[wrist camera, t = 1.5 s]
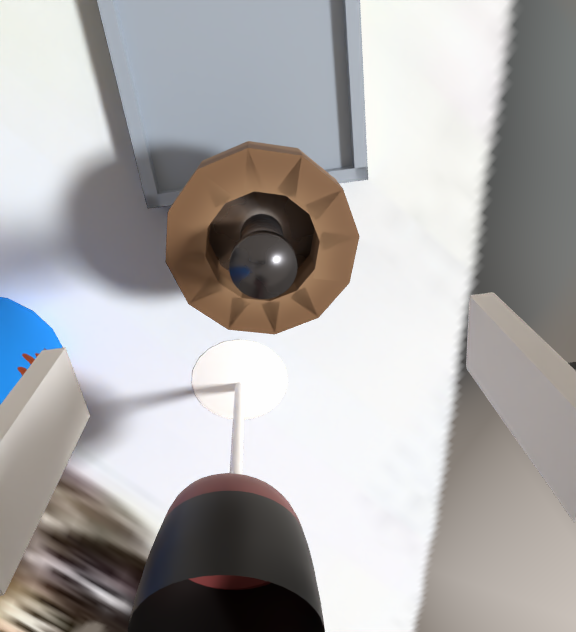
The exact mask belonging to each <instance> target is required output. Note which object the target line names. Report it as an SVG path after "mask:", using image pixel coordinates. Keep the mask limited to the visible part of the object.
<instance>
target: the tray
mask: <svg viewBox="0 0 576 632" xmlns="http://www.w3.org/2000/svg"><path fill="white" fill-rule="evenodd" d="M97 3H98V7H99V11H100V15H101V19H102V24H103V28H104V32H105V36H106V40H107V44H108V48H109V52H110V56H111V60H112V64H113V69H114V73H115V77H116V81H117V85H118V89H119V93H120V97H121V101H122V105H123V110H124V114H125V118H126V122H127V126H128V130H129V134H130V138H131V142H132V146H133V150H134V155H135V159H136V163H137V167H138V171H139V175H140V179H141V183H142V187H143V191H144V196H145V200H146V204H147V208H156V207H163V206H171V205H172V204H173V203H174V201H175V199H176V198H177V196H178V195H179V194H180V192H181V191H182V189H183V188H184V186H185V185H186V183H187V182H188V181H189V179H190V178H191V176H192V175H193V173H194V172H195V170H196V169H197V168H198V166H199V165H200V163H201V162H202V161H203V160H205V159H207V158H210V157H212V156H214V155H217V154H219V153H221V152H224V151H226V150H228V149H231V148H233V147H235V146H238V145H240V144H242V143H245V142H247V141H252V142H259V143H266V144H273V145H280V146H287V147H294V148H299V149H300V150H301V151H302V152H303V153H305V154H306V155H307V156H308V157H309V158H311V159H312V160H313V161H314V162H316V163H317V164H318V165H319V166H320V167H322V168H323V169H324V170H325V171H326V172H328V173H329V174H330V175H331V176H333V177H334V178H335V179H336V180H337V182H338V183H345V182H353V181H361V180H368V167H367V145H366V123H365V101H364V79H363V57H362V36H361V14H360V0H97Z"/></svg>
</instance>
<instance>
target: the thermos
mask: <svg viewBox="0 0 576 632" xmlns="http://www.w3.org/2000/svg"><path fill="white" fill-rule="evenodd" d="M58 348H63V347H62V345H61V343H60V342H59V340H58V338H57V336H56V334H55V333H54V331H53V329H52V328H51V327H50V326H49V325H48V324H47V323H45V322H44V321H43V320H42V319H41V318H40V317H39V316H38V315H37V314H36V313H35V312H34V311H32V310H30V309H28V308H26V307H24V306H22V305H20V304H18V303H16V302H14V301H12V300H10V299H8V298H3V297H0V405H1V403H2V402H3V401H4V399H5V398H6V397H7V396H8V394H9V393H10V392H11V390H12V389H13V388H14V386H15V385H16V384H17V382H18V381H19V380H20V379H21V377H22V376H23V375H24V373H25V372H26V371H27V369H28V368H29V367H30V365H31V364H32V363H33V362H34V360H35V359H36V358H37V356H38V355H39V354H40V352H41V351H42V350H50V349H58Z"/></svg>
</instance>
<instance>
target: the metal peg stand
mask: <svg viewBox="0 0 576 632" xmlns="http://www.w3.org/2000/svg"><path fill="white" fill-rule="evenodd" d="M314 229H315V228H314V225H313V222H312V220H311V217H310V215H309V214H308V213H307V212H306V211H305V210H303V209H302V208H301V207H299V206H298V205H297V204H296V203H294V202H293V201H292V200H290V199H289V198H288V197H287V196H285V195H278V194H270V193H263V192H255V191H254V192H251V193H249V194H247V195H244V196H242V197H239V198H237V199H235V200H232V201H230V202H227V203H225V204H224V206H223V207H222V208H221V210H220V211H219V213H218V214H217V215H216V217H215V218H214V219H213V221H212V222H211V223H210V235H209V243H210V245H211V247H212V249H213V251H214V253H215V255H216V257H217V259H218V261H219V263H220V265H221V266H222V267H223V268H225V269H226V270H228V271H229V272H230V276H231V279H232V281H233V283H234V285H235V286H236V287H237V288H238V289H239V290H240V291H241V292H242V293H244V294H245V295H247V296H249V297H252V298H256V299H271V298H274V297H277V296H279V295H281V294H283V293H284V292H286V291H287V290H288V289H289V288H290V287H291V285H292V284H293V282H294V280H295V278H296V274H297V269H298V268H299V267H300V265H301V264H302V263H303V262H304V261H305V259H306V258H307V257H308V256H309V255H310V252H311V246H312V240H313V234H314Z"/></svg>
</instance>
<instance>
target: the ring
mask: <svg viewBox="0 0 576 632" xmlns="http://www.w3.org/2000/svg"><path fill="white" fill-rule="evenodd" d="M254 191H255V192H263V193H270V194H278V195H285V196H287V197H288V198H289V199H290V200H292V201H293V202H294V203H296V204H297V205H298V206H299V207H301V208H302V209H303V210H305V211H306V212H307V213H308V214H309V215H310V217H311V220H312V222H313V225H314V228H315V229H314V234H313V240H312V246H311V252H310V255H309V256H308V257H307V258H306V259H305V261H304V262H303V263H302V264H301V265H300V267H299V268H298V269H297V274H296V278H295V280H294V282H293V284H292V285H291V287H290V288H289V289H288V290H287V291H286V292H284V293H283V294H281V295H279V296H277V297H274V298H271V299H256V298H252V297H249V296H247V295H245V294H244V293H242V292H241V291H240V290H239V289H238V288H237V287H236V286H235V285H234V283H233V281H232V279H231V276H230V272H229V271H228V270H226V269H225V268H223V267H222V266H221V265H220V263H219V261H218V259H217V257H216V255H215V253H214V251H213V249H212V247H211V245H210V243H209V235H210V223H211V222H212V221H213V219H214V218H215V217H216V215H217V214H218V213H219V211H220V210H221V208H222V207H223V206H224V204H225V203H227V202H230V201H232V200H235V199H237V198H239V197H242V196H244V195H247V194H249V193H251V192H254ZM358 240H359V234H358V231H357V228H356V225H355V222H354V219H353V216H352V214H351V211H350V208H349V205H348V202H347V199H346V196H345V193H344V190H343V188H342V187H341V186H340V184H339V183H338V182H337V180H336V179H335V178H334V177H333V176H331V175H330V174H329V173H328V172H326V171H325V170H324V169H323V168H322V167H320V166H319V165H318V164H317V163H316V162H314V161H313V160H312V159H311V158H309V157H308V156H307V155H306V154H305V153H303V152H302V151H301V150H300V149H299V148H294V147H287V146H280V145H273V144H266V143H259V142H252V141H247V142H245V143H242V144H240V145H238V146H235V147H233V148H231V149H228V150H226V151H224V152H221V153H219V154H217V155H214V156H212V157H210V158H207V159H205V160H203V161H202V162H201V163H200V165H199V166H198V168H197V169H196V170H195V172H194V173H193V175H192V176H191V178H190V179H189V181H188V182H187V183H186V185H185V186H184V188H183V189H182V191H181V192H180V194H179V195H178V196H177V198H176V199H175V201H174V203H173V204H172V206H171V208H170V209H169V211H168V217H167V241H166V264H167V265H168V267H169V269H170V271H171V273H172V275H173V276H174V278H175V280H176V282H177V284H178V286H179V287H180V289H181V291H182V293H183V295H184V297H185V298H186V300H187V302H188V304H189V305H191V306H192V307H194V308H195V309H197V310H199V311H200V312H202V313H203V314H205V315H206V316H208V317H210V318H211V319H213V320H214V321H216V322H217V323H219V324H220V325H222V326H224V327H225V328H227V329H229V330H238V331H248V332H258V333H268V334H277V333H280V332H282V331H285V330H287V329H290V328H293V327H295V326H298V325H301V324H303V323H306V322H308V321H311V320H314V319H316V318H318V317H320V315H321V314H322V313H323V312H324V311H325V310H326V309H327V308H328V306H329V305H330V304H331V303H332V302H333V301H334V300H335V298H336V297H337V296H338V295H339V294H340V293H341V292H342V291H343V289H344V288H345V287H346V286H347V285H348V284H349V282H350V278H351V273H352V268H353V264H354V259H355V254H356V250H357V245H358Z"/></svg>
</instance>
